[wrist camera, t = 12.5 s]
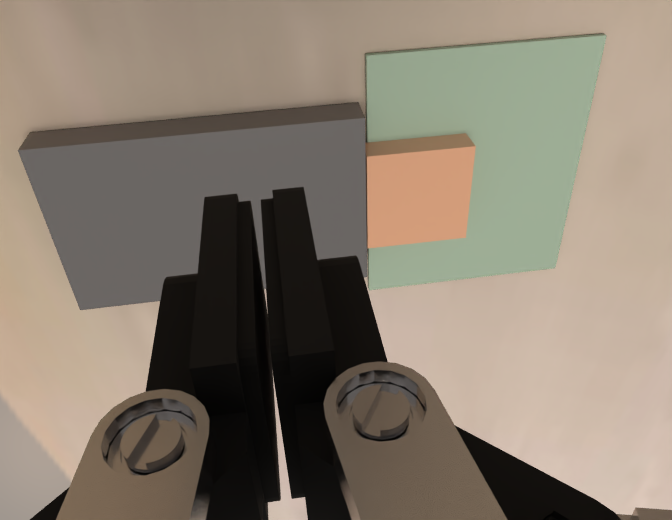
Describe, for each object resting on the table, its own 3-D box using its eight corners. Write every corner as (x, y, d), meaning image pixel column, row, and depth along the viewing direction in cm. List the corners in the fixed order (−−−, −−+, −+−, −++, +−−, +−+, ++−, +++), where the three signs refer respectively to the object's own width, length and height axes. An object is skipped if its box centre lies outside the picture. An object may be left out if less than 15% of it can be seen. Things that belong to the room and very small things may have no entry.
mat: (365, 53, 36) (366, 55, 35) (603, 33, 37) (606, 35, 37) (368, 286, 46) (369, 290, 46) (553, 265, 48) (555, 268, 47)
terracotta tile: (361, 143, 39) (366, 156, 37) (466, 133, 39) (475, 146, 38) (362, 232, 43) (367, 248, 41) (457, 222, 43) (465, 237, 42)
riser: (30, 132, 36) (17, 150, 34) (358, 102, 38) (365, 117, 36) (87, 287, 43) (80, 310, 41) (361, 256, 45) (367, 276, 43)
